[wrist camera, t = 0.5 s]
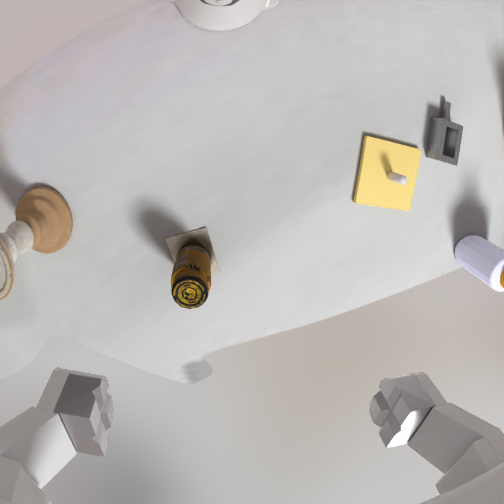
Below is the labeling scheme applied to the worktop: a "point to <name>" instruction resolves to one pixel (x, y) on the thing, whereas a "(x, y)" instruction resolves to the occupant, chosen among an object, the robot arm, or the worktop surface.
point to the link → (438, 138)
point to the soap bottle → (482, 260)
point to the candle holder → (34, 231)
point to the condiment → (191, 267)
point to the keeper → (386, 174)
